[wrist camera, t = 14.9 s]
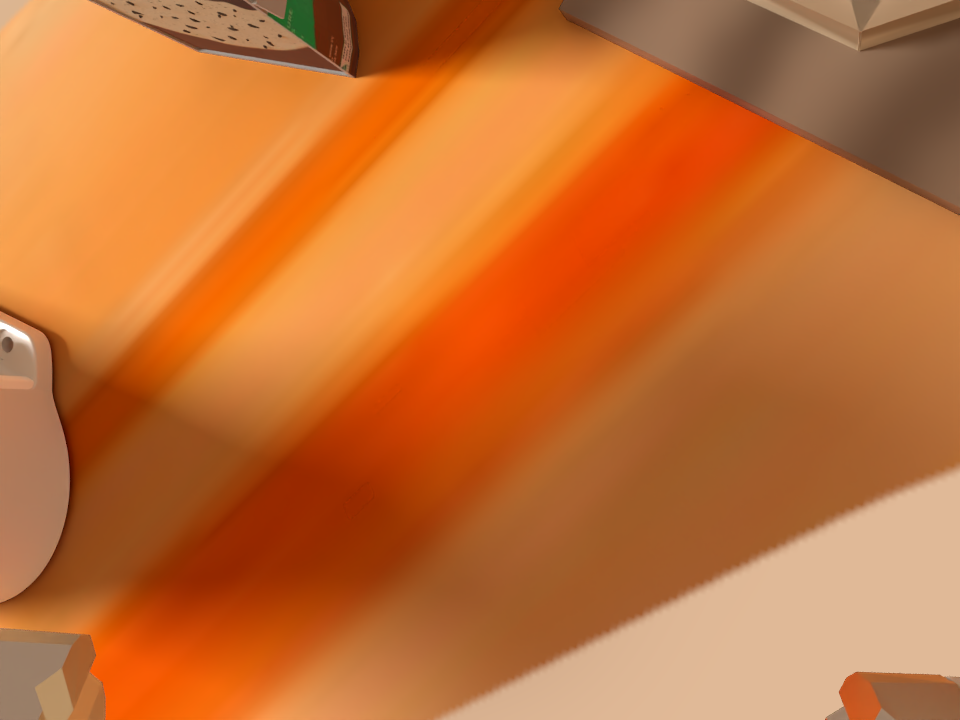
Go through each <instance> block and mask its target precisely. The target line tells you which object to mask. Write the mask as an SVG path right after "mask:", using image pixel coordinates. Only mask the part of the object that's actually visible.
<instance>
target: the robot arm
mask: <svg viewBox="0 0 960 720" xmlns="http://www.w3.org/2000/svg"><path fill="white" fill-rule="evenodd" d="M69 489H70V470H69V458H68V451H67V445H66V441H65V436H64V432H63V429H62V426H61V422H60V419H59V416H58V413H57V410H56V407H55V403H54V399H53V394H52V356H51V348H50V344H49V341H48V339H47V337H46V336H45V335H44V334H43V333H42V332H41V331H39V330H37V329H35V328H33V327H31V326H29V325H27V324H25V323H23V322H21V321H19V320H17V319H15V318H13V317H11V316H9V315H7V314H5V313H3V312H1V311H0V603H1V602H4V601H6V600H8V599H11V598H12V597H14V596H16V595H18V594H19V593H21V592H22V591H23V590H25V589H26V588H27V587H28V586H29V585H30V584H31V583H32V582H33V581H34V580H35V579H36V578H37V577H38V576H39V575H40V573H41V572H42V571H43V569H44V568H45V566H46V565H47V563H48V562H49V560H50V558H51V556H52V555H53V553H54V551H55V548H56V546H57V544H58V541H59V539H60V536H61V533H62V530H63V526H64V522H65V519H66V514H67V508H68V501H69ZM95 656H96V654H95V650H94V647H93V643H92V640H91V636H90V635H85V634H72V633H58V632H45V631H31V630H18V629H4V628H0V720H105V693H104V689H103V684H102V682H101V681H100V680H98V679H97V678H96V677H95V676H93V675H92V674H91V673H90V672H89V671H90V669H91V666H92V664H93V661H94V659H95ZM839 694H840V696H841V699H842V702H843V704H844V707H842V708H841V709H839V710H837V711H836V712H834V713H832V714H831V715H829V716H828V717H826V719H825V720H960V677H943V676H941V675H929V674H901V673H871V672H855V673H854V674H852V675H850V676H848V677H847V678H846V679H845V681H844V683H843V685H842V687H841V689H840V691H839Z"/></svg>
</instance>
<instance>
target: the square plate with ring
mask: <svg viewBox="0 0 960 720" xmlns="http://www.w3.org/2000/svg"><path fill="white" fill-rule="evenodd" d="M559 10H560V11H561V12H562V14H563V15H564V16H565V18H566V19H567V20H569V21H571V22H573V23H575V24H577V25H579V26H581V27H583V28H585V29H587V30H589V31H591V32H593V33H595V34H597V35H599V36H601V37H603V38H605V39H607V40H609V41H611V42H613V43H615V44H617V45H619V46H621V47H623V48H625V49H627V50H629V51H631V52H633V53H635V54H637V55H639V56H641V57H643V58H645V59H647V60H649V61H651V62H653V63H655V64H657V65H659V66H661V67H663V68H665V69H667V70H669V71H671V72H673V73H675V74H677V75H679V76H681V77H683V78H685V79H687V80H689V81H691V82H693V83H695V84H697V85H699V86H701V87H703V88H705V89H707V90H709V91H711V92H713V93H715V94H717V95H719V96H721V97H723V98H725V99H727V100H729V101H731V102H733V103H735V104H737V105H739V106H741V107H743V108H745V109H747V110H749V111H751V112H753V113H755V114H757V115H760V116H762V117H764V118H766V119H768V120H770V121H772V122H774V123H776V124H778V125H780V126H782V127H784V128H786V129H788V130H790V131H792V132H794V133H796V134H798V135H800V136H802V137H804V138H806V139H808V140H810V141H812V142H814V143H816V144H818V145H820V146H822V147H824V148H826V149H828V150H830V151H832V152H834V153H836V154H838V155H840V156H842V157H844V158H846V159H848V160H850V161H852V162H854V163H856V164H858V165H860V166H862V167H864V168H866V169H868V170H870V171H872V172H874V173H876V174H878V175H880V176H882V177H884V178H886V179H888V180H890V181H892V182H894V183H896V184H898V185H900V186H902V187H904V188H906V189H908V190H910V191H912V192H914V193H916V194H918V195H920V196H922V197H924V198H926V199H928V200H930V201H932V202H934V203H936V204H938V205H940V206H942V207H944V208H946V209H948V210H950V211H952V212H954V213H956V214H958V215H960V0H563V2H562V4H561V6H560V7H559Z"/></svg>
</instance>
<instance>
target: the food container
mask: <svg viewBox="0 0 960 720" xmlns="http://www.w3.org/2000/svg"><path fill="white" fill-rule="evenodd" d="M89 1H91V2H93V3H95V4H97V5H99V6H101V7H103V8H106V9H108V10H110V11H112V12H114V13H116V14H118V15H121V16H123V17H125V18H127V19H129V20H131V21H133V22H135V23H138V24H140V25H142V26H144V27H146V28H148V29H150V30H153V31H155V32H157V33H159V34H161V35H163V36H165V37H168V38H170V39H172V40H174V41H176V42H178V43H180V44H182V45H185V46H187V47H189V48H191V49H193V50H195V51H197V52H201V53H207V54H213V55H219V56H225V57H231V58H237V59H243V60H249V61H255V62H261V63H268V64H274V65H280V66H286V67H292V68H298V69H304V70H310V71H316V72H322V73H328V74H334V75H340V76H346V77H352V78H355V77H356V71H357V64H358V58H359V45H358V34H357V23H356V19H355V17H354V14H353V12H352V9H351V7H350V5H349V2H348V0H89Z"/></svg>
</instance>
